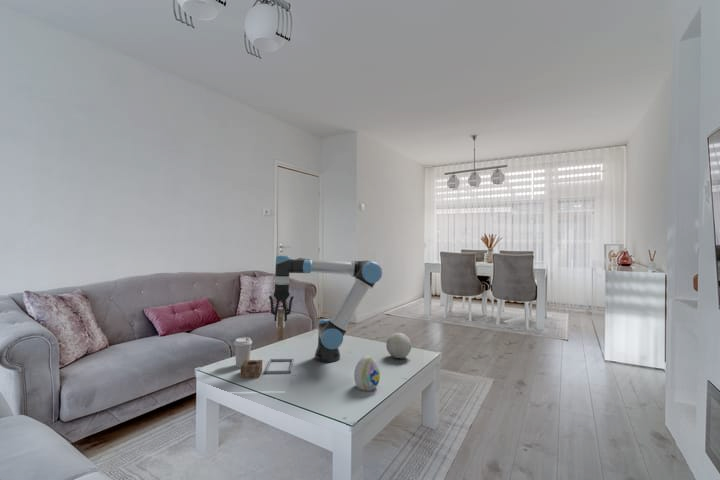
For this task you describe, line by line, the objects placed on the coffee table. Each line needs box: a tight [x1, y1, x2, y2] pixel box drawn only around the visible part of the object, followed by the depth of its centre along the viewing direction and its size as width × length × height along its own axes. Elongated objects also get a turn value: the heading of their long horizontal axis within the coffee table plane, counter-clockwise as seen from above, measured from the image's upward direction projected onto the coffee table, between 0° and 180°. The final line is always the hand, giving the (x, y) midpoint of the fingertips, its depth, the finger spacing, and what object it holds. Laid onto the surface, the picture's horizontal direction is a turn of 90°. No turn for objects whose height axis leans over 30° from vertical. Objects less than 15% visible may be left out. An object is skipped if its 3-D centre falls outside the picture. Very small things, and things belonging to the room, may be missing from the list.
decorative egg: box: [353, 355, 381, 392], centre depth 165 cm, size 12×12×15 cm
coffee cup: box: [233, 337, 253, 369], centre depth 187 cm, size 10×10×15 cm
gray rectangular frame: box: [264, 358, 295, 375], centre depth 187 cm, size 13×19×2 cm
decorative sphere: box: [386, 332, 412, 359], centre depth 210 cm, size 15×15×15 cm
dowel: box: [277, 308, 285, 341], centre depth 187 cm, size 3×3×16 cm
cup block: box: [240, 359, 263, 379], centre depth 176 cm, size 9×9×6 cm
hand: (280, 327), depth 187 cm, fingers closed on dowel, 3 cm apart
